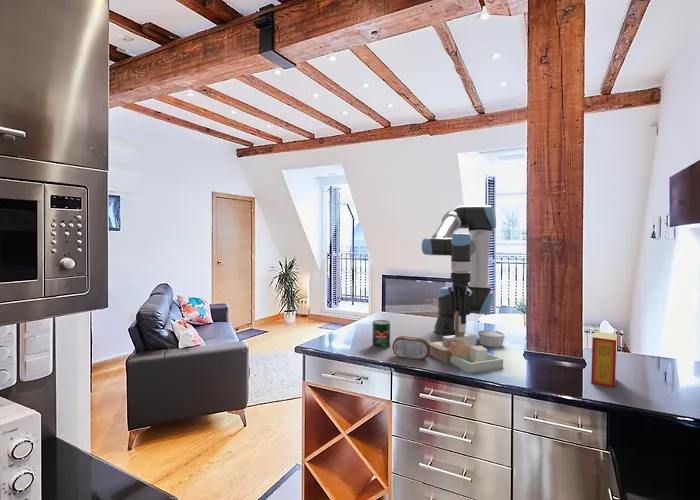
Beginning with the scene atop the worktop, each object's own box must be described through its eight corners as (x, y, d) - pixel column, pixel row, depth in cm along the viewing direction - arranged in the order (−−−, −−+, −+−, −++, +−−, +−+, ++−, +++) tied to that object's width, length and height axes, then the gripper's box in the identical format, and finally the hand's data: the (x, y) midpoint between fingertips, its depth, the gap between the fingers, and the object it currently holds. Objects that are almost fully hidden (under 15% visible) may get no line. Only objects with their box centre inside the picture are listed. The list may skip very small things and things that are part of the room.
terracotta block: (459, 349, 154) (460, 340, 153) (466, 355, 149) (468, 345, 148) (448, 351, 152) (449, 341, 151) (456, 356, 147) (457, 346, 147)
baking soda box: (593, 375, 138) (594, 330, 137) (615, 379, 134) (616, 333, 133) (591, 383, 130) (592, 336, 129) (614, 387, 126) (616, 339, 126)
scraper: (471, 343, 159) (472, 309, 159) (476, 345, 156) (476, 310, 156) (442, 346, 154) (442, 311, 154) (446, 348, 151) (447, 312, 151)
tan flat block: (458, 348, 169) (458, 339, 169) (479, 358, 156) (479, 348, 156) (426, 352, 164) (426, 343, 164) (446, 362, 151) (446, 352, 150)
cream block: (480, 345, 152) (487, 349, 149) (479, 357, 153) (485, 362, 149) (470, 346, 150) (476, 350, 147) (468, 358, 151) (475, 362, 148)
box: (481, 358, 155) (481, 350, 155) (503, 368, 144) (503, 359, 144) (450, 363, 150) (450, 354, 150) (470, 373, 139) (470, 364, 139)
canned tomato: (377, 349, 168) (377, 324, 167) (369, 344, 175) (369, 320, 174) (393, 347, 170) (393, 323, 170) (385, 343, 178) (385, 319, 177)
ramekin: (510, 347, 172) (510, 335, 172) (488, 349, 169) (488, 337, 169) (493, 340, 183) (493, 329, 183) (473, 342, 180) (473, 331, 179)
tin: (430, 359, 155) (430, 338, 155) (429, 361, 152) (429, 340, 152) (393, 355, 160) (393, 335, 160) (391, 357, 157) (391, 336, 157)
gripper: (441, 270, 160) (441, 327, 161) (464, 274, 146) (463, 336, 147) (457, 270, 163) (456, 325, 163) (481, 273, 148) (480, 334, 149)
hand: (459, 330), depth 155 cm, fingers closed on scraper, 2 cm apart
